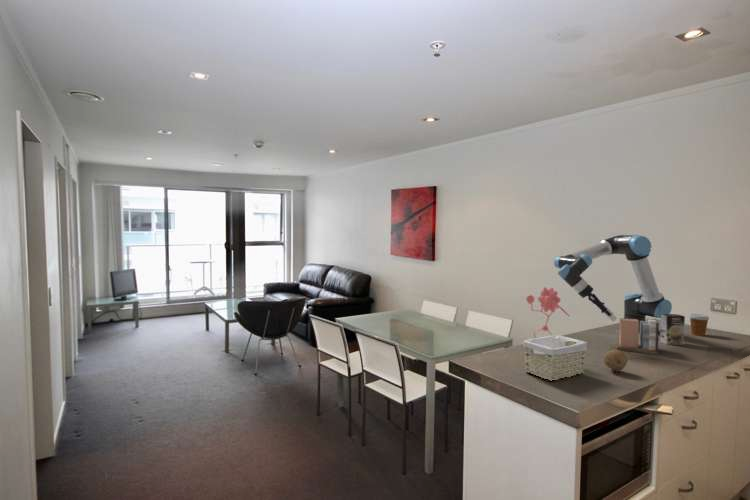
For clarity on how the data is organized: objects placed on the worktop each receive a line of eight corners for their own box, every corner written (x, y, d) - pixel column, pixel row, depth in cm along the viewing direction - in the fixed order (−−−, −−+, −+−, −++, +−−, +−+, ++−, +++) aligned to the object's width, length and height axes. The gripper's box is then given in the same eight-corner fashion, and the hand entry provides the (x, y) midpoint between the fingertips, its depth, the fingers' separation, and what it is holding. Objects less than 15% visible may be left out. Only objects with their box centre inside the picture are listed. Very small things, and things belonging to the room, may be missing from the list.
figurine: (560, 366, 189) (562, 291, 188) (518, 352, 212) (519, 285, 211) (582, 362, 196) (584, 289, 195) (539, 348, 219) (540, 283, 218)
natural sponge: (621, 376, 176) (621, 354, 176) (599, 371, 183) (600, 349, 183) (630, 372, 182) (630, 350, 181) (609, 367, 189) (609, 345, 188)
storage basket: (556, 364, 193) (557, 333, 192) (588, 374, 179) (589, 341, 178) (520, 372, 182) (521, 340, 181) (552, 384, 168) (552, 349, 167)
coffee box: (666, 344, 226) (667, 316, 225) (659, 341, 233) (660, 313, 232) (684, 345, 225) (685, 316, 225) (676, 342, 232) (677, 313, 231)
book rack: (614, 344, 227) (614, 314, 226) (652, 347, 220) (653, 317, 219) (617, 350, 216) (618, 319, 215) (657, 354, 209) (658, 322, 208)
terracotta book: (619, 343, 223) (619, 318, 222) (636, 345, 220) (637, 319, 219) (620, 345, 218) (621, 320, 218) (638, 347, 215) (638, 321, 215)
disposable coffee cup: (685, 333, 250) (685, 314, 249) (694, 332, 254) (694, 313, 253) (702, 337, 241) (703, 317, 241) (711, 335, 245) (712, 316, 245)
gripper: (576, 289, 239) (604, 317, 234) (578, 296, 216) (610, 326, 211) (586, 281, 236) (615, 308, 231) (590, 286, 213) (622, 317, 208)
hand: (613, 317), depth 221 cm, fingers open, 13 cm apart
